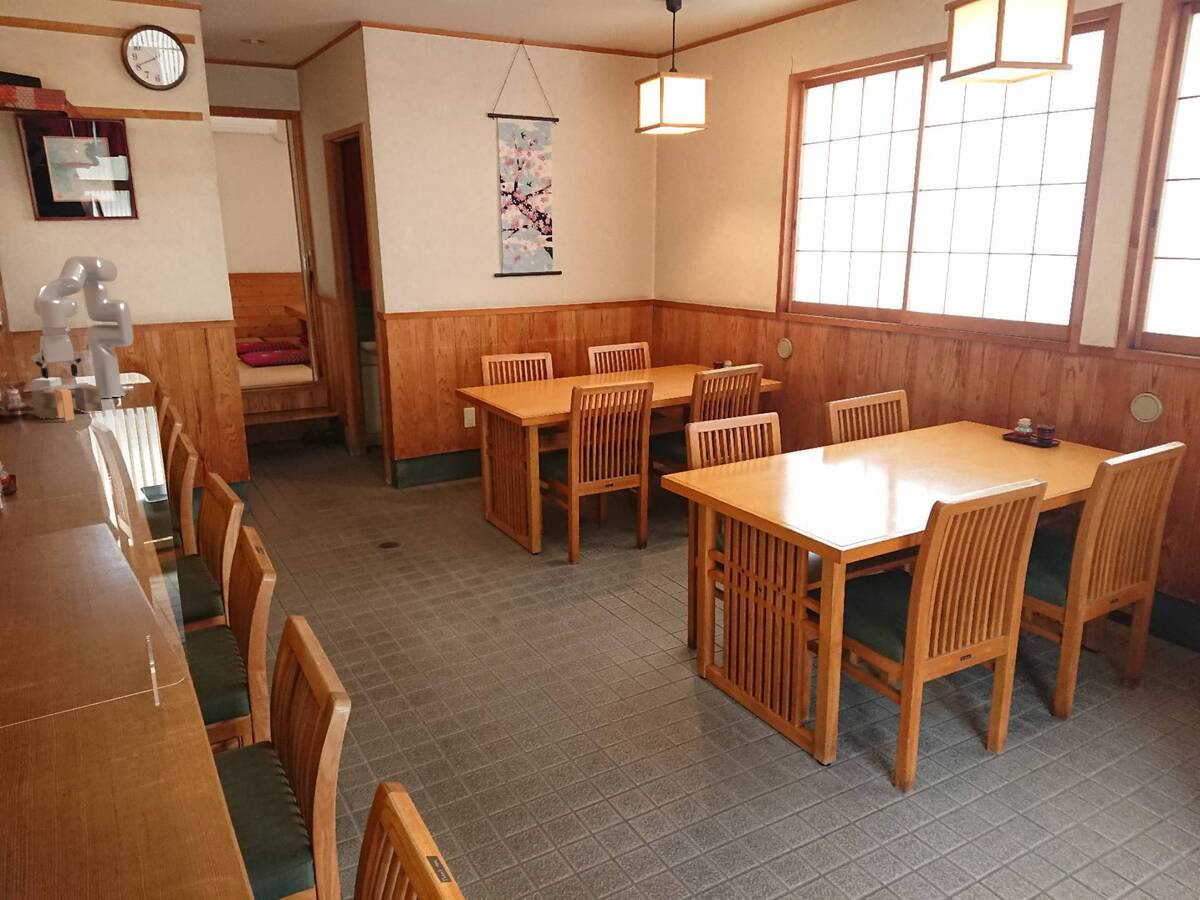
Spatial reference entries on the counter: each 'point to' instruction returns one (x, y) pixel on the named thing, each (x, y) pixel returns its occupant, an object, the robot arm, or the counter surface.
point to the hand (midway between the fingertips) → (60, 376)
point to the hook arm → (65, 386)
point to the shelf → (83, 396)
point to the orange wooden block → (64, 403)
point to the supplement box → (46, 382)
